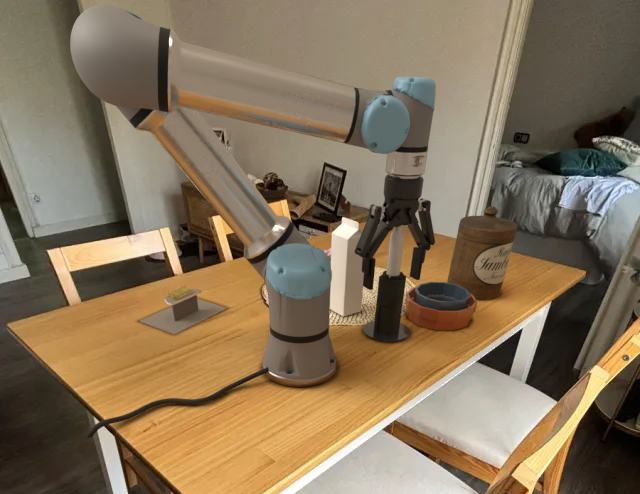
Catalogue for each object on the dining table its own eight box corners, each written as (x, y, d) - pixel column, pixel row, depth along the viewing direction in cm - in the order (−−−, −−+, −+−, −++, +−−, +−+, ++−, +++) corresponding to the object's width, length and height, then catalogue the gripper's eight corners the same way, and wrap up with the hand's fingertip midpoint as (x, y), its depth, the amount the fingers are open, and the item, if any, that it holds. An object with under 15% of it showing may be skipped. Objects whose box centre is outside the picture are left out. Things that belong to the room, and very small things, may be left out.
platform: (138, 321, 115) (133, 294, 111) (193, 297, 127) (189, 272, 123) (174, 334, 110) (169, 307, 106) (227, 308, 122) (224, 283, 118)
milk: (343, 317, 119) (348, 224, 106) (328, 308, 123) (331, 218, 110) (361, 311, 122) (369, 220, 109) (346, 303, 126) (351, 214, 113)
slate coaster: (380, 346, 107) (381, 344, 107) (353, 327, 115) (354, 325, 114) (419, 336, 112) (419, 334, 112) (390, 318, 119) (391, 316, 119)
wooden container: (480, 304, 127) (501, 217, 114) (435, 287, 136) (450, 205, 123) (510, 291, 135) (533, 208, 122) (466, 276, 144) (483, 197, 131)
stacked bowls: (434, 336, 112) (439, 310, 108) (391, 310, 123) (394, 285, 119) (486, 322, 119) (492, 297, 115) (440, 298, 130) (445, 275, 126)
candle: (400, 328, 114) (416, 217, 98) (391, 336, 110) (406, 222, 95) (381, 323, 116) (393, 213, 101) (371, 330, 112) (382, 218, 97)
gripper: (363, 183, 85) (355, 298, 99) (464, 173, 95) (444, 279, 109) (341, 176, 90) (336, 286, 104) (439, 167, 101) (423, 268, 114)
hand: (391, 282), depth 106 cm, fingers open, 12 cm apart
